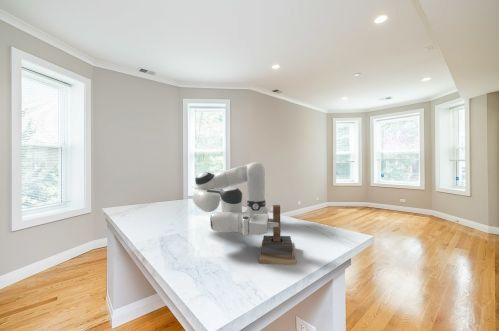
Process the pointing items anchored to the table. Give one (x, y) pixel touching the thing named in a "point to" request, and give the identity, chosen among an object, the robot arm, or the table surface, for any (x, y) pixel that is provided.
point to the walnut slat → (276, 219)
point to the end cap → (277, 251)
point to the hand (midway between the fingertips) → (278, 222)
